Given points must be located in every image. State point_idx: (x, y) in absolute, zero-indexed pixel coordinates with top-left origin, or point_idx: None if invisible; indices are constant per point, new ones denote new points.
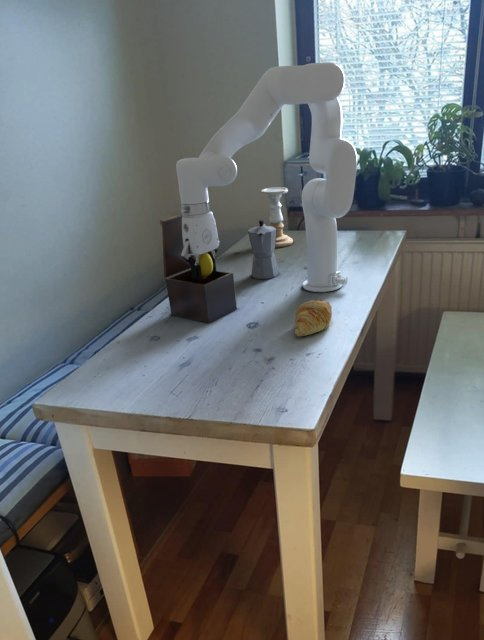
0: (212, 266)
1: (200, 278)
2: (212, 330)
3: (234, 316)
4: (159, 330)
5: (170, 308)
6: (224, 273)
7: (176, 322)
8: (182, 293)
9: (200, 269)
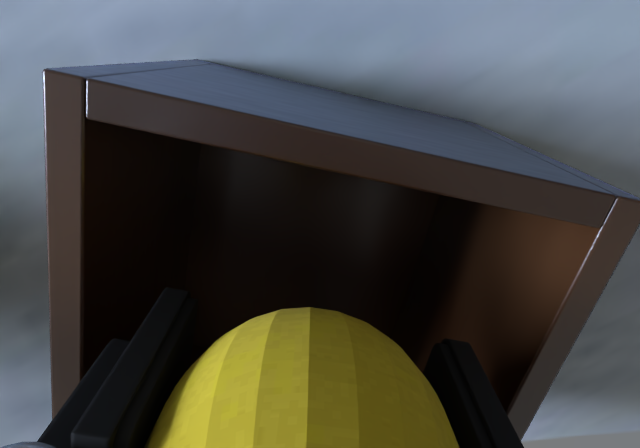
0: (272, 341)
1: (468, 346)
2: (599, 35)
3: (330, 4)
4: (599, 330)
5: None
6: (88, 203)
7: None
8: None
9: (495, 429)
